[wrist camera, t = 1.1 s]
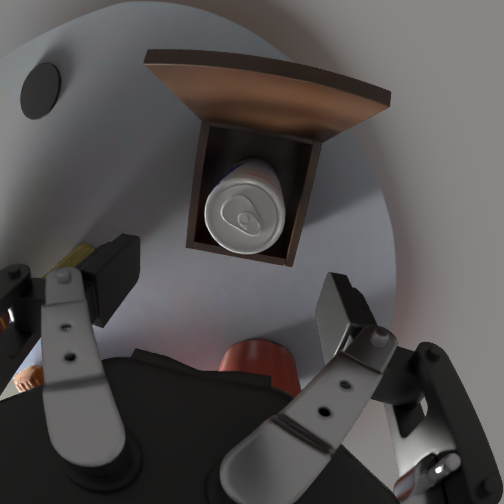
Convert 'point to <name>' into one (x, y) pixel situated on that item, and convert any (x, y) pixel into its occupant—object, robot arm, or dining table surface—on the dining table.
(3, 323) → the jug
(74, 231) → the dining table surface
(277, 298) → the dining table surface
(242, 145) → the chest
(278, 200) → the beverage can
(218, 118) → the lid
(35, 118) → the mat
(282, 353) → the flower pot
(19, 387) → the clay tablet
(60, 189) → the dining table surface
